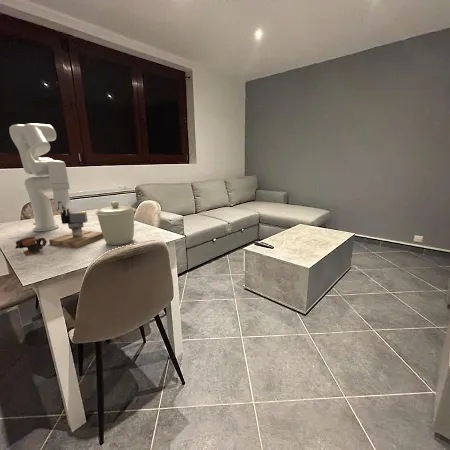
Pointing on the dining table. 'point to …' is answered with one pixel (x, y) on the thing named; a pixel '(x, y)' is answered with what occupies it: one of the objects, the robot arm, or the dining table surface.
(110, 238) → the canister
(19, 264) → the dining table surface
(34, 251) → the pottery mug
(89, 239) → the base
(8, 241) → the dining table surface
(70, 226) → the cap
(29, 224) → the dining table surface
